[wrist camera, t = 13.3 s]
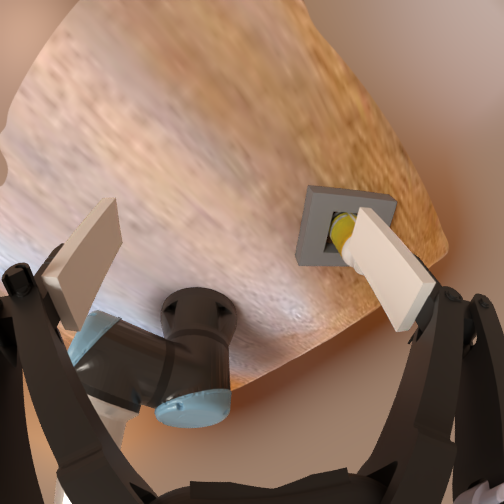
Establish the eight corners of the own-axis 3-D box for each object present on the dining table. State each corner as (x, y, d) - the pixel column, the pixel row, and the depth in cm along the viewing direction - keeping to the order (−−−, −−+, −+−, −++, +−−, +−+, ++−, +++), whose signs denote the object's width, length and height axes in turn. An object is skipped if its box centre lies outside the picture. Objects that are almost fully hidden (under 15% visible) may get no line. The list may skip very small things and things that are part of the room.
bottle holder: (369, 257, 51) (375, 266, 48) (294, 255, 49) (298, 265, 46) (388, 194, 43) (397, 201, 41) (307, 185, 42) (313, 192, 39)
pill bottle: (324, 241, 48) (345, 281, 39) (327, 208, 44) (352, 245, 35) (356, 239, 48) (382, 277, 39) (361, 207, 45) (392, 242, 35)
